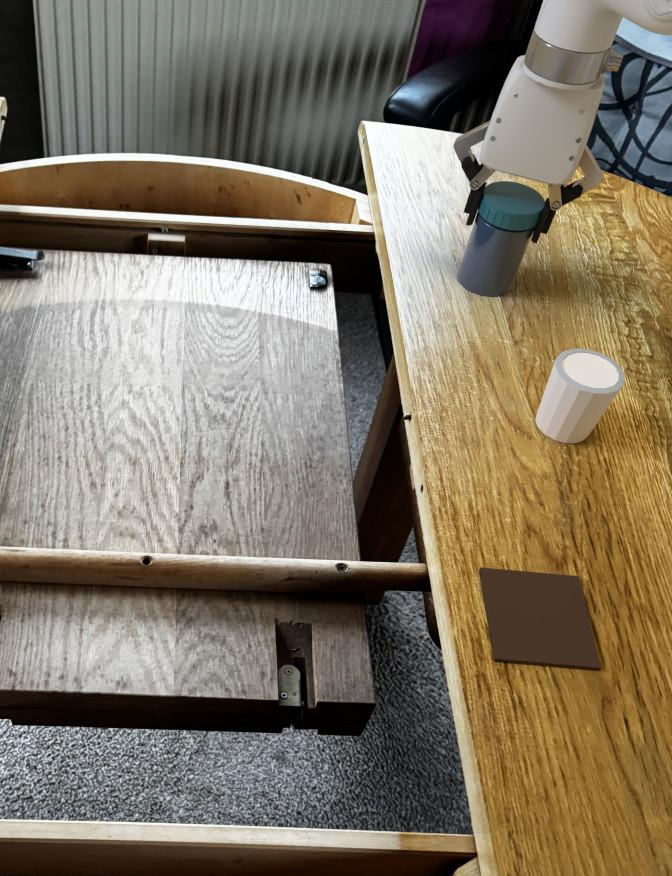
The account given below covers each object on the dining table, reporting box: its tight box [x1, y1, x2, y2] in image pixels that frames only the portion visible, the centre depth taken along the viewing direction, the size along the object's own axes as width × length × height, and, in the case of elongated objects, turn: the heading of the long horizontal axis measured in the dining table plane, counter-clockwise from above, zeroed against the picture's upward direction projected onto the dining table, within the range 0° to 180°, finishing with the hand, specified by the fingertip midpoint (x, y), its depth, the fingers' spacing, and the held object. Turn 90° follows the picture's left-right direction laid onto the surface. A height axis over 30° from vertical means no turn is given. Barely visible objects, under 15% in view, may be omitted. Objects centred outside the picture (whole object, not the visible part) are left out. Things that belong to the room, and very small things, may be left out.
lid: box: [477, 180, 546, 231], centre depth 103 cm, size 7×7×2 cm
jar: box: [456, 211, 535, 297], centre depth 107 cm, size 7×7×10 cm
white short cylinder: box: [534, 348, 626, 444], centre depth 93 cm, size 7×7×7 cm
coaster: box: [478, 567, 602, 671], centre depth 81 cm, size 9×10×1 cm
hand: (503, 227), depth 105 cm, fingers closed on lid, 6 cm apart
